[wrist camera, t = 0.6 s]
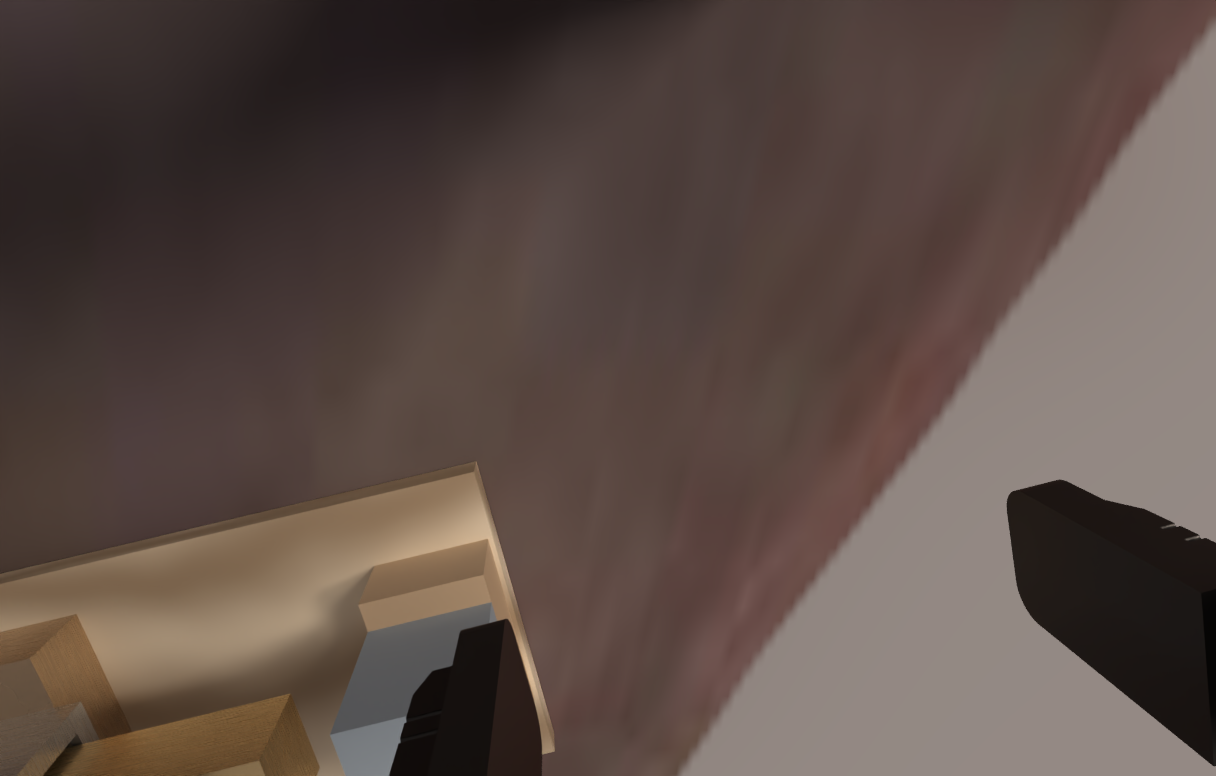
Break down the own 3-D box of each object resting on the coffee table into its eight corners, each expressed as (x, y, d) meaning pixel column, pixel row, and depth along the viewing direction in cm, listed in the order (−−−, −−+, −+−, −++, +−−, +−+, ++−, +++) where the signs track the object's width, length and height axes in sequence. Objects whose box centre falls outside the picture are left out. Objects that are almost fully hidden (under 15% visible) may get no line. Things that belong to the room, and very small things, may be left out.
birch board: (-193, 619, 32) (-221, 636, 30) (476, 461, 32) (474, 471, 31) (-40, 879, 36) (-60, 903, 34) (554, 733, 36) (554, 751, 35)
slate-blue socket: (374, 565, 32) (317, 702, 24) (488, 538, 32) (470, 665, 24) (428, 723, 34) (393, 899, 26) (534, 698, 34) (533, 864, 26)
